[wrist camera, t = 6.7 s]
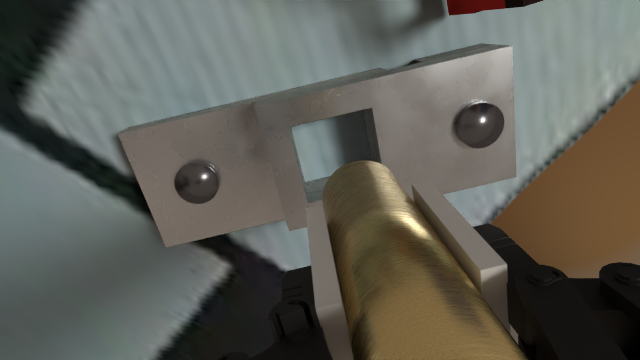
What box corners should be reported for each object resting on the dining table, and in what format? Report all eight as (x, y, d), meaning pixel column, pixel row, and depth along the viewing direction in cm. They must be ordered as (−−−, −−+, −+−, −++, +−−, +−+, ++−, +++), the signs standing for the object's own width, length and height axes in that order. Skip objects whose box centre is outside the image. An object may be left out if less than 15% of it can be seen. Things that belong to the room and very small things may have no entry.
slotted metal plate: (173, 234, 31) (155, 267, 27) (128, 127, 28) (101, 144, 24) (488, 159, 31) (521, 180, 27) (481, 43, 28) (517, 46, 24)
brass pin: (326, 246, 21) (392, 610, 8) (307, 166, 19) (348, 459, 6) (411, 226, 21) (619, 558, 8) (399, 144, 19) (639, 394, 6)
